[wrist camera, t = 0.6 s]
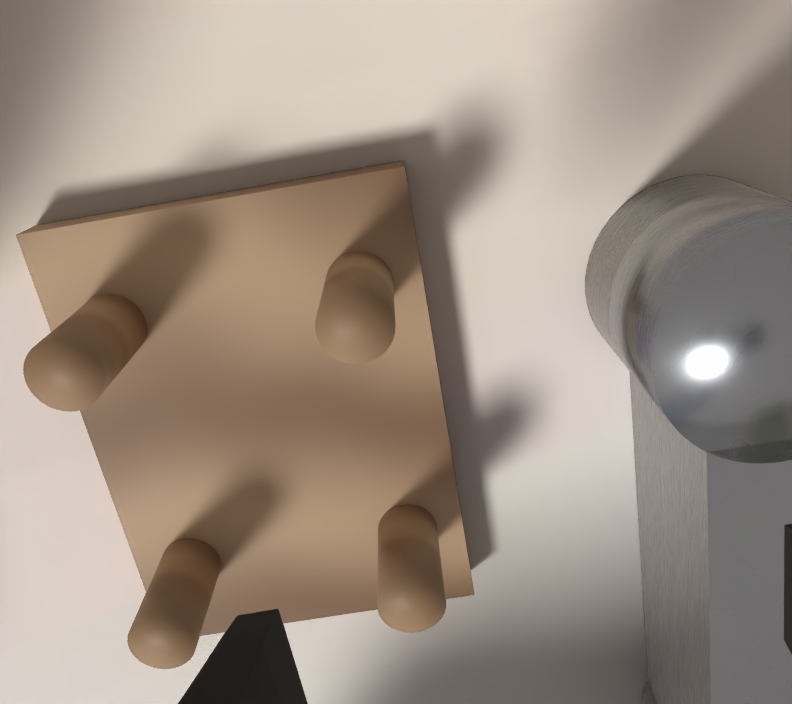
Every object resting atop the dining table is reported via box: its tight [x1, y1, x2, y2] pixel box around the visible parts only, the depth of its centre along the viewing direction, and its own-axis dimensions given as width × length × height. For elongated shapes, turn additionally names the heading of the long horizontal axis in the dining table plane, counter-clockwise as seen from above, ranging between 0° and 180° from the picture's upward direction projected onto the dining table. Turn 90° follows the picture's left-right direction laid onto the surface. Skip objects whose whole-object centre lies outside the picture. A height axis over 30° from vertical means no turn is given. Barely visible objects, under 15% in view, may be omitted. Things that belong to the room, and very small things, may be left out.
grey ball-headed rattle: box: [585, 175, 792, 704], centre depth 19 cm, size 18×5×5 cm, turn 10°
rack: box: [16, 161, 474, 669], centre depth 18 cm, size 12×9×4 cm
